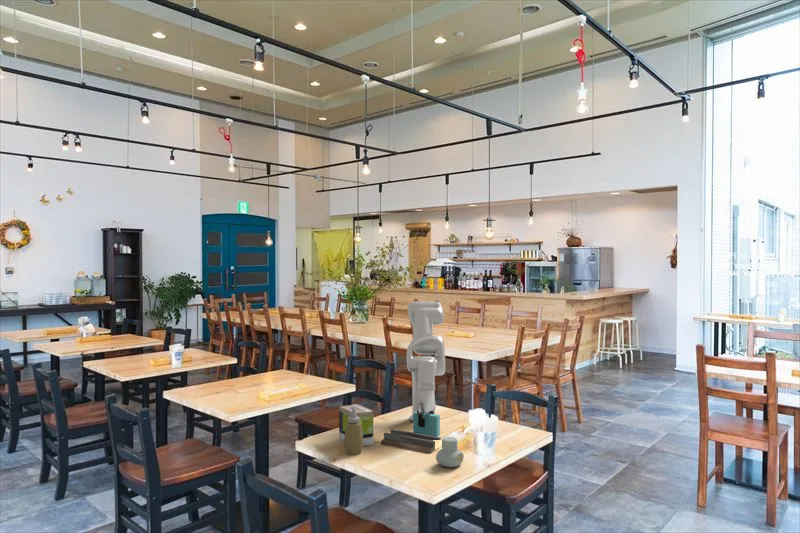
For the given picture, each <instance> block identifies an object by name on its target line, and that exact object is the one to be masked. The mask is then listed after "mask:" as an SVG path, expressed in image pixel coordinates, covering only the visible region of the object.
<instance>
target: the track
mask: <svg viewBox="0 0 800 533" xmlns="http://www.w3.org/2000/svg"><path fill="white" fill-rule="evenodd" d="M433 440H441V441H442V439H441V436H440V437H435V436H430V435H424V434H418V433H413V431H412V432H411V431H407V430H406V431H405V430H400V429H395V428H391V429H390V432H386V431H385V432H384V433H383V439H380V444H381V445H384V446H385V445H386V446H390V447H395V448H401V449H406V450H410V451H411V450H412V451H417V452H422V453H427V454H433V453H434V452H435V451H436V450H435V441H433Z"/></svg>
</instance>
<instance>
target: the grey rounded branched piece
mask: <svg viewBox="0 0 800 533" xmlns="http://www.w3.org/2000/svg"><path fill="white" fill-rule="evenodd" d="M441 441H442V446H441V449H440V448H439V449H438V451H437V453H436V455H435V460H436V462H437V463H438V465H440V466H441V467H445V468H457V467H458V466H460V465H462V463H463V461H464V454H463V452H462V451H461V450H460V449H458V448H459V447H458V439H457V438H456V437H452V436H445V437H443V438H442V439H441Z"/></svg>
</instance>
